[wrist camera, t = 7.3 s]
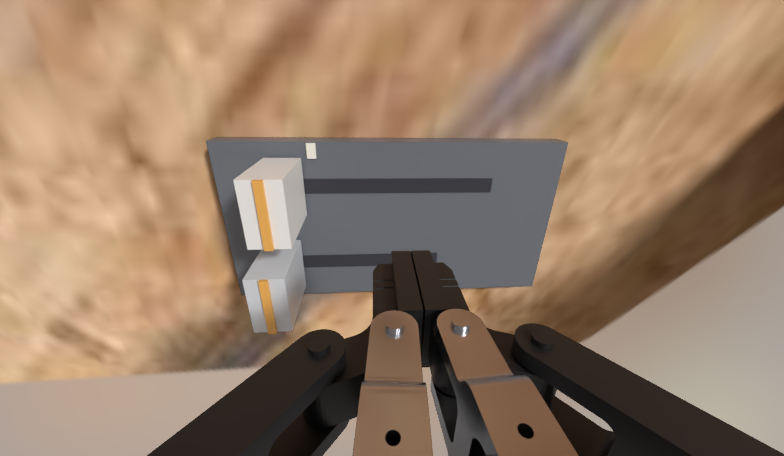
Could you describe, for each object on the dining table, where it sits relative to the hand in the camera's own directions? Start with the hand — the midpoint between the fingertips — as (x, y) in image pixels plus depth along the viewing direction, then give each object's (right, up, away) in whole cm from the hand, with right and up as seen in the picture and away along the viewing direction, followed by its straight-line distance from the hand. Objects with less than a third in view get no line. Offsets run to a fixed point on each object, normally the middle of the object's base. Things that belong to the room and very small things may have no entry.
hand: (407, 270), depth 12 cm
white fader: (-8, +4, +9) cm, 12 cm away
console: (-1, +3, +12) cm, 12 cm away
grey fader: (-9, -1, +11) cm, 14 cm away
